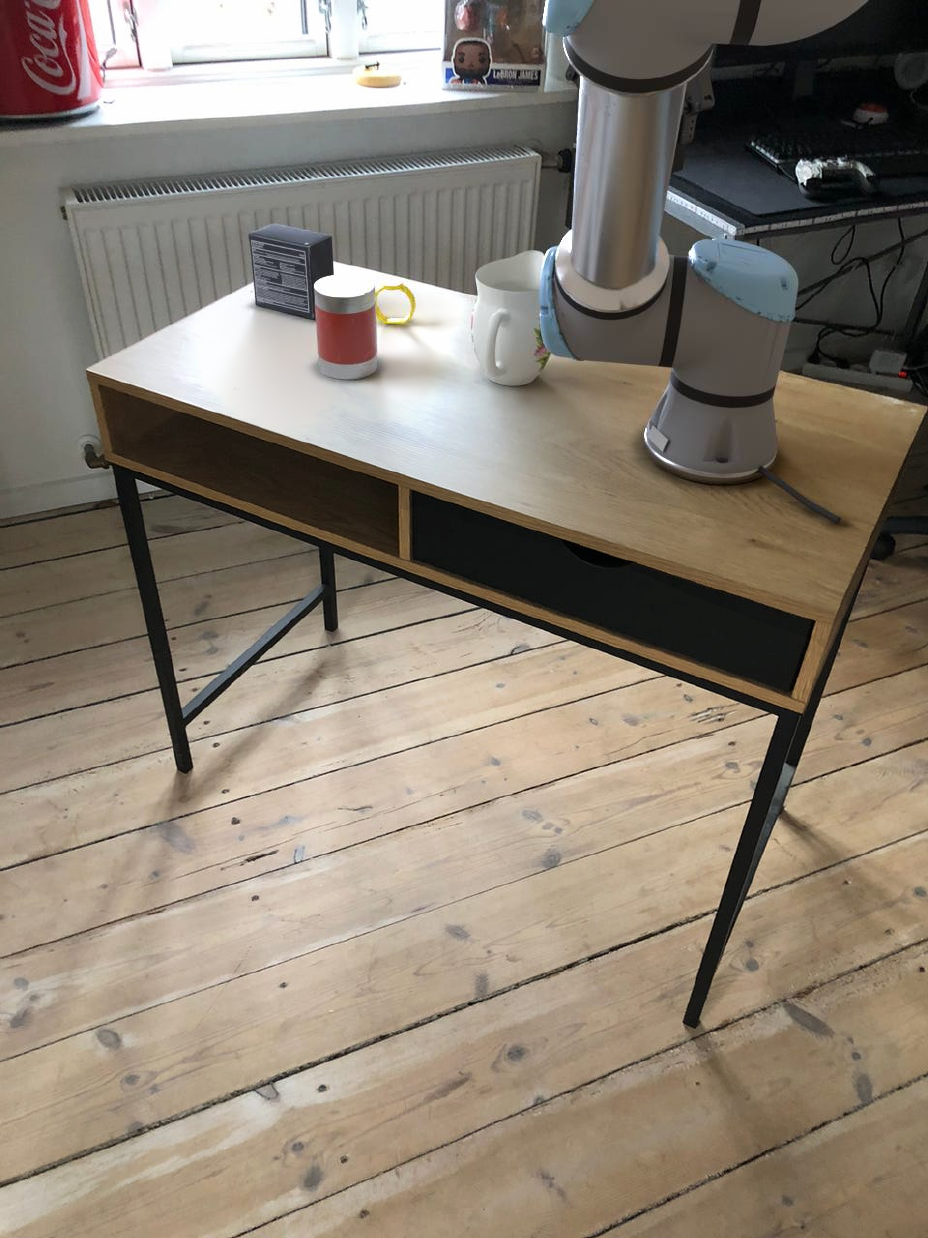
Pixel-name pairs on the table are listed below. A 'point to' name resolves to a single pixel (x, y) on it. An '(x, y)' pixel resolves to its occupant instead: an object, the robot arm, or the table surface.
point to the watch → (395, 285)
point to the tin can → (346, 326)
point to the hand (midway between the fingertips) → (628, 158)
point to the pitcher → (509, 319)
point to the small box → (289, 267)
